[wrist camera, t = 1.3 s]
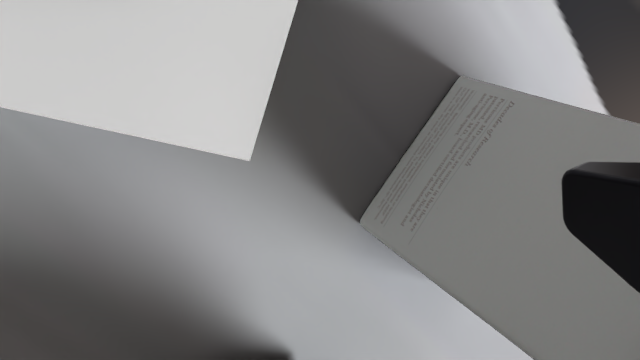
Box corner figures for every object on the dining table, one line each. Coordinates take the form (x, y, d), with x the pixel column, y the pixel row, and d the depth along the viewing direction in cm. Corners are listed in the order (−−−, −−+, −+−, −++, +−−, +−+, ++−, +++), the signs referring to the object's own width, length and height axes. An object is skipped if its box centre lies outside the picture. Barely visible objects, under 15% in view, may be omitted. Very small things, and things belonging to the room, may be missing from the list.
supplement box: (351, 223, 24) (621, 433, 13) (459, 69, 24) (817, 157, 13) (459, 295, 28) (736, 504, 17) (552, 163, 28) (888, 290, 17)
